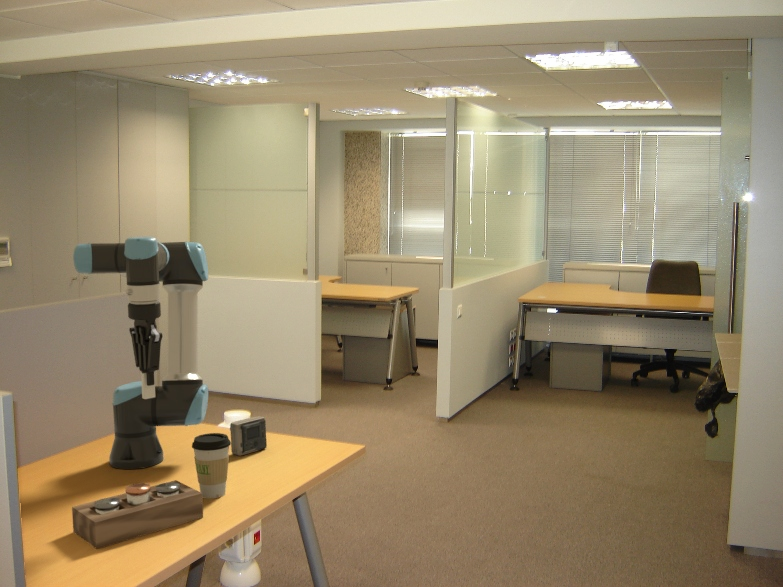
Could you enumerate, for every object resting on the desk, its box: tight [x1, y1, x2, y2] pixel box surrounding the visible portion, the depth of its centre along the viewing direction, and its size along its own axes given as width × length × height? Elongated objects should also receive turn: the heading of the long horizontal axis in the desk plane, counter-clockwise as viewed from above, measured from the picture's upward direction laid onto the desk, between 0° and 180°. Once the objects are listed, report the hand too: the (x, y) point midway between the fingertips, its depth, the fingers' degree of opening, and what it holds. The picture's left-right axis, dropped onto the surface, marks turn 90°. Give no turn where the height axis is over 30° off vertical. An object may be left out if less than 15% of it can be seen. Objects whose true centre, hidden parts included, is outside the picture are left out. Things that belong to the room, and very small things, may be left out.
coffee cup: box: [191, 432, 231, 499], centre depth 209 cm, size 10×10×15 cm
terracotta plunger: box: [124, 482, 151, 506], centre depth 189 cm, size 6×6×7 cm
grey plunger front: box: [94, 497, 120, 515], centre depth 184 cm, size 6×6×7 cm
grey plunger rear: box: [156, 481, 180, 498], centre depth 194 cm, size 6×6×7 cm
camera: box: [229, 415, 268, 457], centre depth 245 cm, size 11×6×10 cm, turn 136°
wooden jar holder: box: [71, 479, 204, 550], centre depth 189 cm, size 13×26×6 cm, turn 133°
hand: (148, 397), depth 197 cm, fingers closed
